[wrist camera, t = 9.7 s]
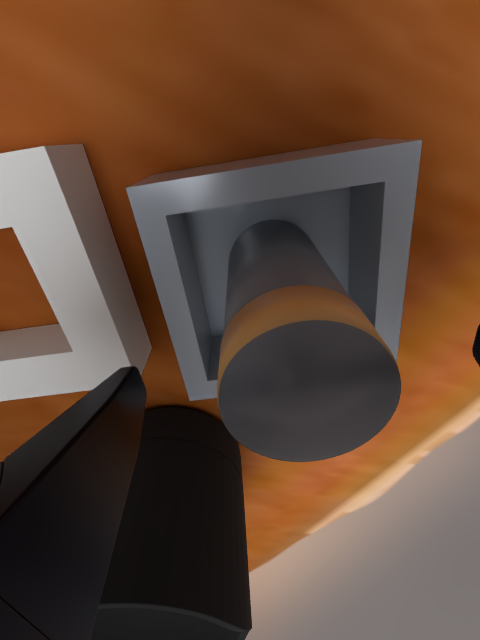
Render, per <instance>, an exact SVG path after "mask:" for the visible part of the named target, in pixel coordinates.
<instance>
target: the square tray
mask: <svg viewBox="0 0 480 640" xmlns="http://www.w3.org/2000/svg"><path fill="white" fill-rule="evenodd" d="M421 147H422V140H418V139H382V138H371V139H365V140H359V141H353V142H347V143H340V144H334V145H328V146H322V147H316V148H310V149H304V150H298V151H292V152H286V153H280V154H273V155H267V156H261V157H255V158H249V159H243V160H237V161H231V162H225V163H219V164H213V165H207V166H200V167H194V168H188V169H182V170H176V171H170V172H164V173H158V174H153V175H151V176H149V177H147V178H145V179H143V180H141V181H139V182H137V183H135V184H133V185H131V186H128V187H126V190H127V194H128V197H129V200H130V204H131V207H132V210H133V214H134V217H135V220H136V224H137V227H138V230H139V234H140V237H141V240H142V244H143V247H144V250H145V254H146V257H147V260H148V264H149V267H150V270H151V274H152V277H153V280H154V284H155V287H156V290H157V293H158V297H159V300H160V303H161V307H162V310H163V313H164V317H165V320H166V323H167V327H168V330H169V333H170V337H171V340H172V343H173V347H174V350H175V353H176V357H177V360H178V363H179V367H180V370H181V373H182V377H183V380H184V383H185V387H186V390H187V393H188V397H189V400H190V401H194V400H202V399H211V398H217V381H218V369H219V358H220V347H221V342H222V338H223V331H224V318H225V305H226V292H227V278H228V265H229V256H230V252H231V249H232V246H233V244H234V242H235V241H236V239H237V238H238V237H239V235H240V234H241V233H242V232H243V231H244V230H246V229H247V228H248V227H250V226H252V225H254V224H256V223H258V222H261V221H265V220H283V221H287V222H290V223H292V224H294V225H296V226H298V227H299V228H301V229H302V230H303V231H304V232H305V233H306V234H307V235H308V237H309V238H310V240H311V241H312V242H313V244H314V245H315V247H316V248H317V250H318V251H319V253H320V254H321V255H322V257H323V258H324V260H325V261H326V263H327V264H328V266H329V267H330V268H331V270H332V271H333V273H334V274H335V276H336V277H337V279H338V280H339V281H340V283H341V284H342V286H343V287H344V289H345V290H346V292H347V293H348V294H349V296H350V297H351V299H352V300H353V302H354V303H355V304H356V305H357V306H359V308H360V309H361V310H362V311H363V313H364V314H365V315H366V317H367V318H368V319H369V321H370V322H371V324H372V325H373V327H374V328H375V329H376V331H377V332H378V334H379V335H380V336H381V338H382V339H383V341H384V342H385V344H386V345H387V346H388V348H389V349H390V351H391V352H392V354H393V356H394V358H395V360H396V363H397V355H398V346H399V338H400V329H401V320H402V312H403V303H404V294H405V286H406V277H407V268H408V260H409V251H410V242H411V234H412V225H413V216H414V208H415V199H416V190H417V182H418V173H419V164H420V156H421Z"/></svg>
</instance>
